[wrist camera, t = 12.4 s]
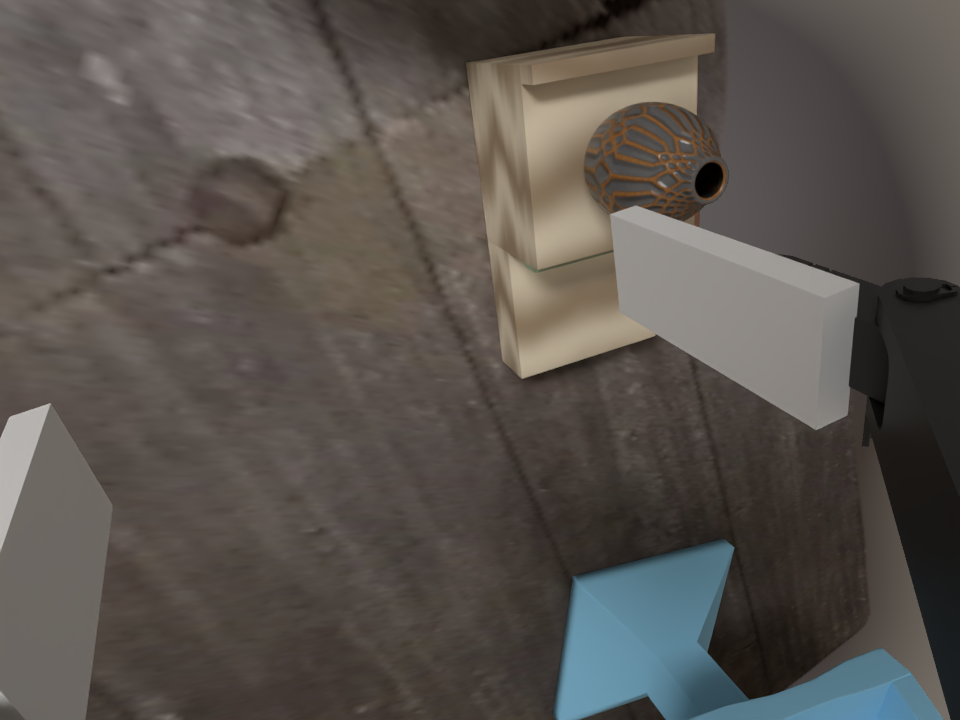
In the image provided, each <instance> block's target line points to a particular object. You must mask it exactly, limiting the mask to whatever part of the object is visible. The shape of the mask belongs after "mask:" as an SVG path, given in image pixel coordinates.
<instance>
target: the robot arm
mask: <svg viewBox="0 0 960 720" xmlns="http://www.w3.org/2000/svg"><path fill="white" fill-rule="evenodd" d="M610 219H611V229H612V239H613V249H614V259H615V269H616V279H617V289H618V299H619V309H620V313H622V314H624V315H625V316H627V317H629V318H630V319H632V320H634V321H635V322H637V323H639V324H640V325H642V326H644V327H645V328H647V329H649V330H650V331H652V332H654V333H655V334H657V335H659V336H660V337H662V338H664V339H665V340H667V341H669V342H670V343H672V344H674V345H675V346H677V347H679V348H680V349H682V350H684V351H685V352H687V353H689V354H690V355H692V356H694V357H695V358H697V359H699V360H700V361H702V362H704V363H705V364H707V365H709V366H710V367H712V368H714V369H715V370H717V371H719V372H720V373H722V374H724V375H725V376H727V377H729V378H730V379H732V380H734V381H735V382H737V383H739V384H740V385H742V386H744V387H745V388H747V389H749V390H750V391H752V392H754V393H755V394H757V395H759V396H760V397H762V398H764V399H765V400H767V401H768V402H770V403H772V404H773V405H775V406H777V407H778V408H780V409H782V410H783V411H785V412H787V413H788V414H790V415H792V416H793V417H795V418H797V419H798V420H800V421H802V422H803V423H805V424H807V425H808V426H810V427H812V428H813V429H815V430H817V429H820V428H822V427H824V426H826V425H828V424H830V423H832V422H834V421H836V420H839V419H841V418H843V417H845V416H847V415H848V405H849V394H850V387H851V388H853V389H855V390H858V391H860V392H861V393H863V394H865V395H867V405H866V415H865V423H864V433H863V442H862V446H869V442H870V439H871V438H872V439H873V442H874V445H875V449H876V453H877V456H878V460H879V464H880V467H881V471H882V474H883V478H884V482H885V485H886V488H887V492H888V495H889V500H890V503H891V506H892V510H893V514H894V518H895V521H896V525H897V528H898V532H899V535H900V539H901V543H902V546H903V550H904V553H905V557H906V561H907V564H908V568H909V571H910V575H911V579H912V582H913V585H914V589H915V593H916V596H917V600H918V604H919V607H920V611H921V614H922V618H923V622H924V625H925V629H926V633H927V636H928V640H929V643H930V647H931V650H932V654H933V657H934V661H935V664H936V668H937V672H938V676H939V679H940V682H941V686H942V690H943V693H944V697H945V701H946V704H947V708H948V711H949V715H950V719H951V720H960V287H959V286H957V285H955V284H952V283H950V282H947V281H944V280H938V279H932V278H905V279H898V280H894V281H891V282H888V283H885V284H884V285H883V286H882V287H881V286H878V285H875V284H872V283H869V282H866V281H863V280H861V279H858V278H855V277H851V276H849V275H846V274H843V273H840V272H837V271H834V270H832V271H829V268H826V267H823V266H820V265H817V264H816V265H813V264H812V263H811V262H808V261H805V260H802V259H799V258H796V257H793V256H788V255H780V254H774V253H770V252H768V251H765V250H762V249H759V248H756V247H753V246H751V245H748V244H745V243H742V242H739V241H736V240H733V239H730V238H728V237H725V236H722V235H719V234H716V233H713V232H710V231H708V230H705V229H702V228H699V227H696V226H693V225H690V224H688V223H685V222H682V221H679V220H676V219H673V218H670V217H668V216H665V215H662V214H659V213H656V212H653V211H650V210H648V209H645V208H642V207H639V206H633V207H630V208H627V209H624V210H621V211H618V212H615V213H612V214H610ZM112 508H113V505H112V504H111V502H110V500H109V499H108V497H107V496H106V494H105V492H104V491H103V489H102V487H101V486H100V484H99V482H98V481H97V479H96V477H95V476H94V474H93V472H92V471H91V469H90V467H89V466H88V464H87V462H86V461H85V459H84V457H83V456H82V454H81V453H80V451H79V449H78V448H77V446H76V444H75V443H74V441H73V439H72V438H71V436H70V434H69V433H68V431H67V429H66V428H65V426H64V424H63V423H62V421H61V419H60V418H59V416H58V414H57V413H56V411H55V410H54V408H53V406H52V405H51V403H50V404H47V405H44V406H41V407H38V408H35V409H32V410H29V411H26V412H23V413H20V414H17V415H14V416H11V417H9V419H8V422H7V424H6V426H5V429H4V431H3V433H2V436H1V438H0V720H85V718H86V710H87V703H88V695H89V687H90V679H91V671H92V664H93V656H94V648H95V640H96V633H97V625H98V617H99V609H100V601H101V594H102V586H103V578H104V570H105V563H106V555H107V547H108V539H109V531H110V524H111V516H112Z"/></svg>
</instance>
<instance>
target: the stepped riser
mask: <svg viewBox="0 0 960 720" xmlns="http://www.w3.org/2000/svg"><path fill="white" fill-rule="evenodd" d="M713 52H715V33H713V34H684V35H656V36H627V37H618V38H612V39H606V40H600V41H594V42H588V43H582V44H576V45H570V46H564V47H558V48H552V49H546V50H540V51H534V52H528V53H522V54H516V55H510V56H504V57H498V58H492V59H486V60H479V61H473V62H467V63H466V69H467V77H468V85H469V93H470V101H471V109H472V117H473V125H474V133H475V141H476V149H477V157H478V165H479V174H480V182H481V190H482V198H483V206H484V214H485V222H486V230H487V238H488V246H489V254H490V262H491V270H492V278H493V286H494V294H495V302H496V311H497V319H498V327H499V335H500V343H501V351H502V359H503V362H504V363H505V364H506V365H508V366H509V367H510V368H511V369H512V370H513V371H514V372H515V373H516V374H517V375H518V376H519V377H520V378H522V379H523V378H526V377H529V376H532V375H535V374H539V373H542V372H545V371H548V370H551V369H554V368H557V367H560V366H563V365H567V364H570V363H573V362H576V361H579V360H582V359H585V358H588V357H591V356H595V355H598V354H601V353H604V352H607V351H610V350H613V349H616V348H619V347H623V346H626V345H629V344H632V343H635V342H638V341H641V340H644V339H647V338H651V337H654V336H655V333H654V332H652V331H650V330H649V329H647V328H645V327H644V326H642V325H640V324H639V323H637V322H635V321H634V320H632V319H630V318H629V317H627V316H625V315H624V314H622V313H620V309H619V299H618V289H617V279H616V269H615V259H614V249H613V239H612V229H611V219H610V215H608V214H607V213H606V212H605V211H604V210H603V209H602V208H600V206H599V205H598V204H597V203H596V201H595V200H594V199H593V197H592V196H591V194H590V192H589V189H588V187H587V184H586V181H585V176H584V159H585V153H586V149H587V146H588V144H589V141H590V139H591V137H592V135H593V134H594V132H595V131H596V129H597V128H598V127H599V125H600V124H601V123H602V122H603V121H604V120H605V119H607V118H608V117H609V116H610V115H612V114H613V113H615V112H616V111H618V110H620V109H622V108H624V107H627V106H630V105H633V104H637V103H641V102H665V103H671V104H675V105H677V106H680V107H683V108H685V109H687V110H689V111H690V112H692V113H694V114H695V115H696V116H697V77H698V55H702V54H707V53H713ZM684 222H685V223H688V224H690V225H693V226H696V227H698V226H699V212H697V213H696V214H695V215H694V216H692V217H691V218H689V219H687V220H685V221H684Z"/></svg>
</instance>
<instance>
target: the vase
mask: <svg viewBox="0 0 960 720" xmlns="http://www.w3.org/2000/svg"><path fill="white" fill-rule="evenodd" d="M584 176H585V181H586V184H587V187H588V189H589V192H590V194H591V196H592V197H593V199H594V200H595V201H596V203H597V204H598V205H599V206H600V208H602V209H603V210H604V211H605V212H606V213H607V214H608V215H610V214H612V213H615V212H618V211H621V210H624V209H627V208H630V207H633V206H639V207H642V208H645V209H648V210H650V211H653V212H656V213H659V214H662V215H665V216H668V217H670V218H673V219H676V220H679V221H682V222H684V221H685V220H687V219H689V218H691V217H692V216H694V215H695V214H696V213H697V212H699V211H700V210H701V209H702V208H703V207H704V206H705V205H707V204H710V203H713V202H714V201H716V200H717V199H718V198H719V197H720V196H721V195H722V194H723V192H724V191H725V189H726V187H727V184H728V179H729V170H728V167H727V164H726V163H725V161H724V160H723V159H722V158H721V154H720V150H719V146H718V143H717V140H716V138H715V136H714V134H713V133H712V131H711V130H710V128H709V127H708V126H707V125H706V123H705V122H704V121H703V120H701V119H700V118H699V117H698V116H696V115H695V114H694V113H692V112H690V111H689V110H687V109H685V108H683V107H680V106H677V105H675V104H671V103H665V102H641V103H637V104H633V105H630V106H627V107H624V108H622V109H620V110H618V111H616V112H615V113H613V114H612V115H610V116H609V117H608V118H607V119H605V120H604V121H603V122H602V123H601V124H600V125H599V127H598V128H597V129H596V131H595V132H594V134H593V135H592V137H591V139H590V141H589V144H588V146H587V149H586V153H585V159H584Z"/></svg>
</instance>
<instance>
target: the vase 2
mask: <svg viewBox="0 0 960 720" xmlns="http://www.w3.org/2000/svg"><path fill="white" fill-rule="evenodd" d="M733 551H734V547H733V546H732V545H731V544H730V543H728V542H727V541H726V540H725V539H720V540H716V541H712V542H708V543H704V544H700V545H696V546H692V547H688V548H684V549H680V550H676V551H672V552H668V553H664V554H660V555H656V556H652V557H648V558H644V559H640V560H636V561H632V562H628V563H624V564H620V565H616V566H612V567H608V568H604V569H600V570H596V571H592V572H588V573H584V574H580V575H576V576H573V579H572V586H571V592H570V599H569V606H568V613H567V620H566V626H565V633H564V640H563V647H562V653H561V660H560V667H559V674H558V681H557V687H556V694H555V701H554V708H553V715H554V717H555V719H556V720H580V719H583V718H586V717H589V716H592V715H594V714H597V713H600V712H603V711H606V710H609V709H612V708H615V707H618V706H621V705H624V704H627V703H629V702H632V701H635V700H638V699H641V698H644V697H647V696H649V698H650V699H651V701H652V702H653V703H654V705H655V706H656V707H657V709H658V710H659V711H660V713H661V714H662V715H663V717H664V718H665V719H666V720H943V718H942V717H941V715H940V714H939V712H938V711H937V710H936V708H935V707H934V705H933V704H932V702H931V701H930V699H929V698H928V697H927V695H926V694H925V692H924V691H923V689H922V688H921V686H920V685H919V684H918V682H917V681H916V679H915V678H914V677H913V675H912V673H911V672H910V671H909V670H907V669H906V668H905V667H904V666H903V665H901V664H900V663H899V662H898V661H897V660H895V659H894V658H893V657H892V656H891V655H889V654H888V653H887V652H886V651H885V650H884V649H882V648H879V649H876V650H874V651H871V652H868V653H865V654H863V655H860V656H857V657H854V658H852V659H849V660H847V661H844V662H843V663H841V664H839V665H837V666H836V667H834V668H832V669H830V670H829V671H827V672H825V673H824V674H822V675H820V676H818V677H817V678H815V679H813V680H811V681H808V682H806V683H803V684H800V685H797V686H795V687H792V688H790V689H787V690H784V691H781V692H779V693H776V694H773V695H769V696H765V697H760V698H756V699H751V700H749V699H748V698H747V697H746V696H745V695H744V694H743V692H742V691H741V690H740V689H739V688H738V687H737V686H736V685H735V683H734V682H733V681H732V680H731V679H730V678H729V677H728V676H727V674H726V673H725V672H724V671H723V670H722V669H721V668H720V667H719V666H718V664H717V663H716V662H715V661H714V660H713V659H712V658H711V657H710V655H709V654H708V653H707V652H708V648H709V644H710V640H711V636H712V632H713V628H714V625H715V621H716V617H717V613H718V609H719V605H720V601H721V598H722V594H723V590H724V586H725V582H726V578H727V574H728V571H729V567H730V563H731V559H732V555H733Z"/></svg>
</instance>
